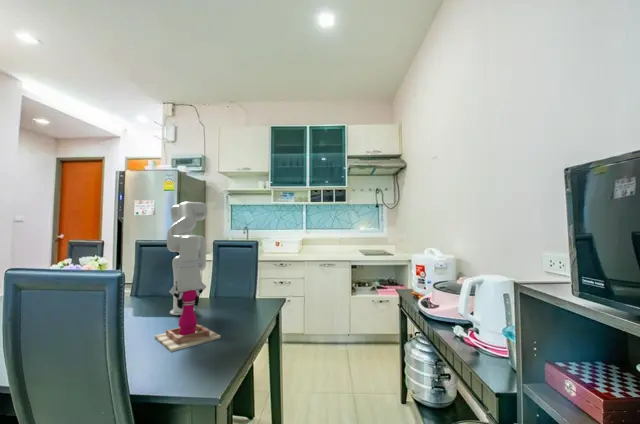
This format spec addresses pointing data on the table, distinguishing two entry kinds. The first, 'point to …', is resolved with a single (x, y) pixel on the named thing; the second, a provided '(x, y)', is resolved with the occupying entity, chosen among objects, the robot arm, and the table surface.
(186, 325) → the pepper mill
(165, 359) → the table surface
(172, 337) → the board
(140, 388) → the table surface
